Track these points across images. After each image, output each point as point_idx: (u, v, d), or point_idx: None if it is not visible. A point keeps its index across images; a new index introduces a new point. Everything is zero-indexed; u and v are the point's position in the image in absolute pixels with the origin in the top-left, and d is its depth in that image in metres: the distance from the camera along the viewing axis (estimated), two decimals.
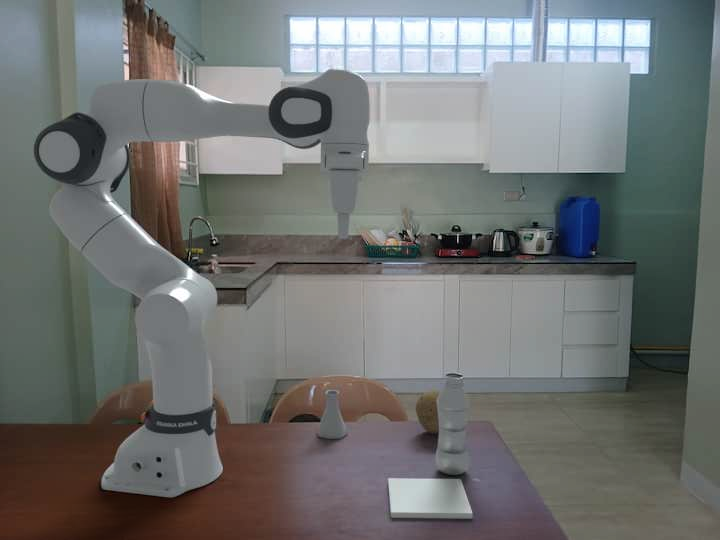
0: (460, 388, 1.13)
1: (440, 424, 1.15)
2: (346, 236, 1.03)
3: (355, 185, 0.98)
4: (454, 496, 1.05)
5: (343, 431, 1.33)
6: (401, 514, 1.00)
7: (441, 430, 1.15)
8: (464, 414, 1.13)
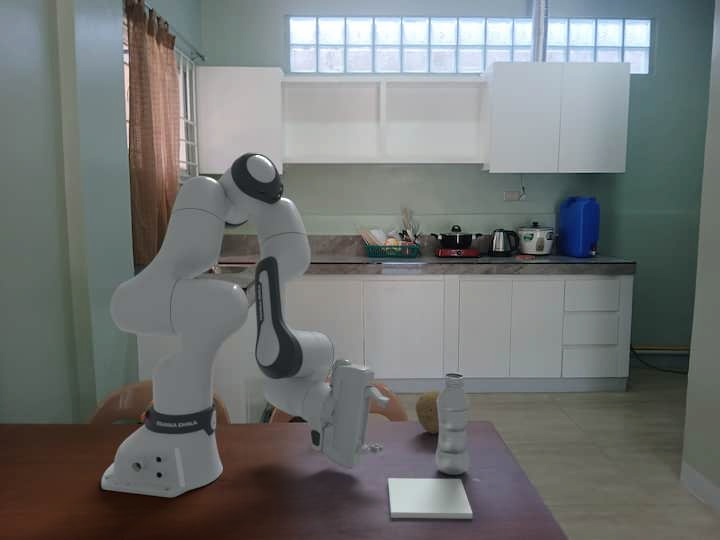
0: (460, 388, 1.13)
1: (440, 424, 1.15)
2: (376, 454, 1.10)
3: (333, 461, 1.15)
4: (454, 496, 1.05)
5: None
6: (401, 514, 1.00)
7: (441, 430, 1.15)
8: (464, 414, 1.13)
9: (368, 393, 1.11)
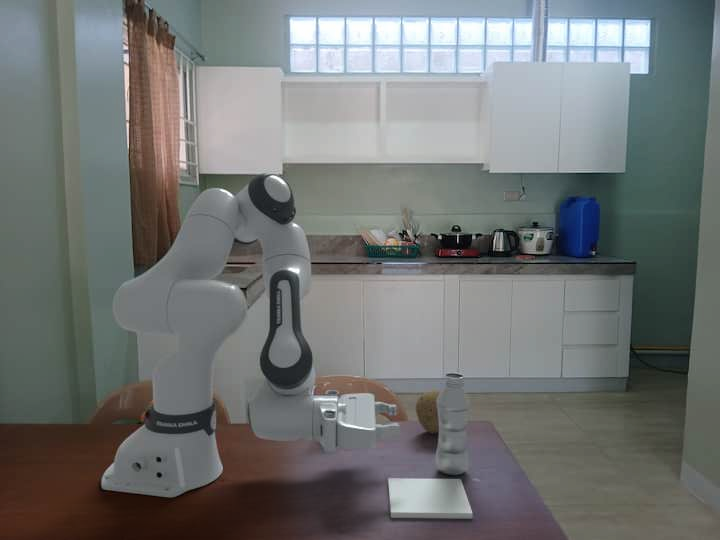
0: (460, 388, 1.13)
1: (440, 424, 1.15)
2: (398, 427, 1.10)
3: (351, 429, 1.06)
4: (454, 496, 1.05)
5: None
6: (401, 514, 1.00)
7: (441, 430, 1.15)
8: (464, 414, 1.13)
9: (378, 403, 1.21)
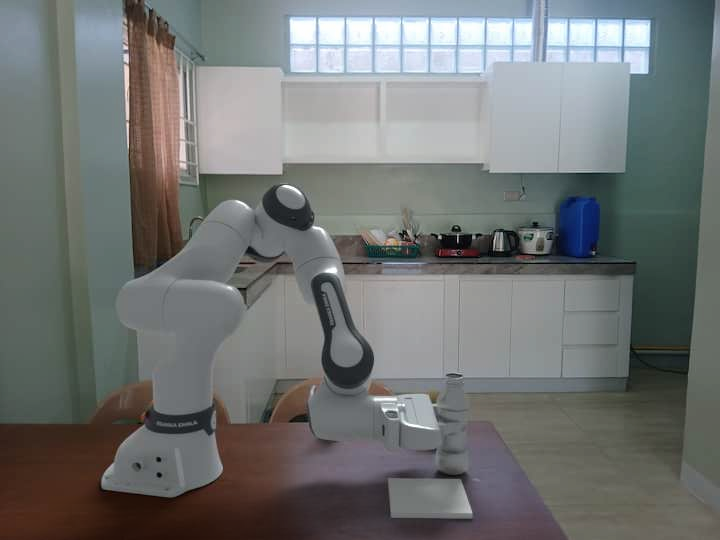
0: (460, 388, 1.13)
1: None
2: (459, 425, 1.11)
3: (415, 429, 1.06)
4: (454, 496, 1.05)
5: None
6: (401, 514, 1.00)
7: None
8: (464, 414, 1.13)
9: (435, 405, 1.20)
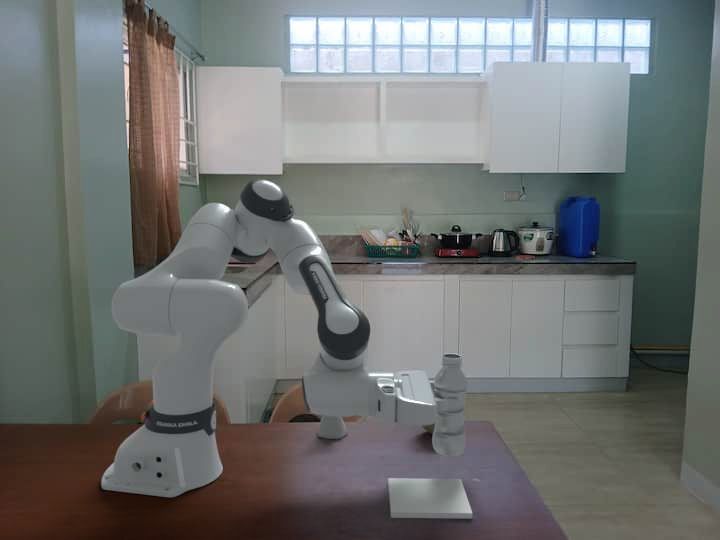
0: (458, 369, 1.11)
1: None
2: (456, 401, 1.09)
3: (411, 404, 1.04)
4: (454, 496, 1.05)
5: (343, 431, 1.33)
6: (401, 514, 1.00)
7: (438, 411, 1.13)
8: (461, 395, 1.11)
9: (433, 381, 1.18)
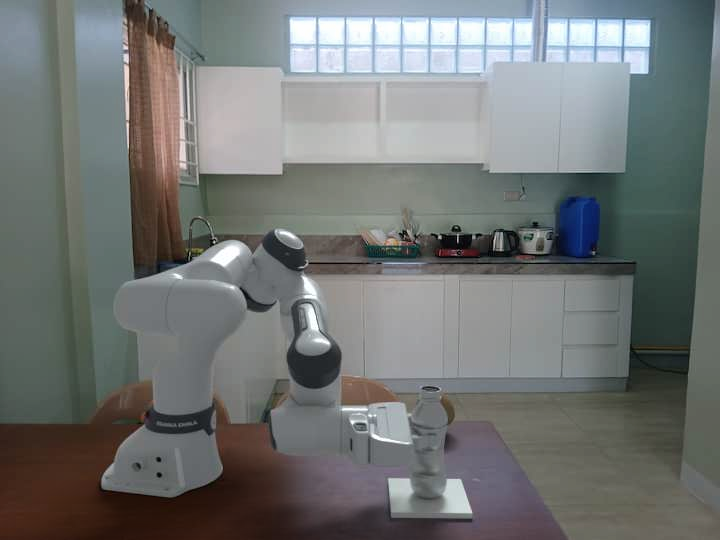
0: (436, 403, 1.03)
1: None
2: (435, 438, 1.00)
3: (385, 443, 0.95)
4: (454, 496, 1.05)
5: None
6: (401, 514, 1.00)
7: None
8: (441, 431, 1.02)
9: None
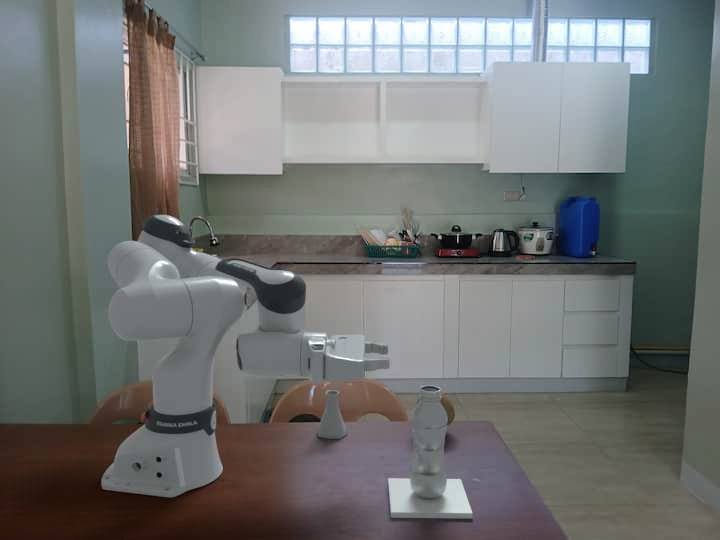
0: (436, 403, 1.03)
1: (415, 442, 1.04)
2: (387, 361, 1.08)
3: (338, 360, 1.04)
4: (454, 496, 1.05)
5: (343, 431, 1.33)
6: (401, 514, 1.00)
7: (416, 449, 1.04)
8: (441, 431, 1.02)
9: (369, 342, 1.19)
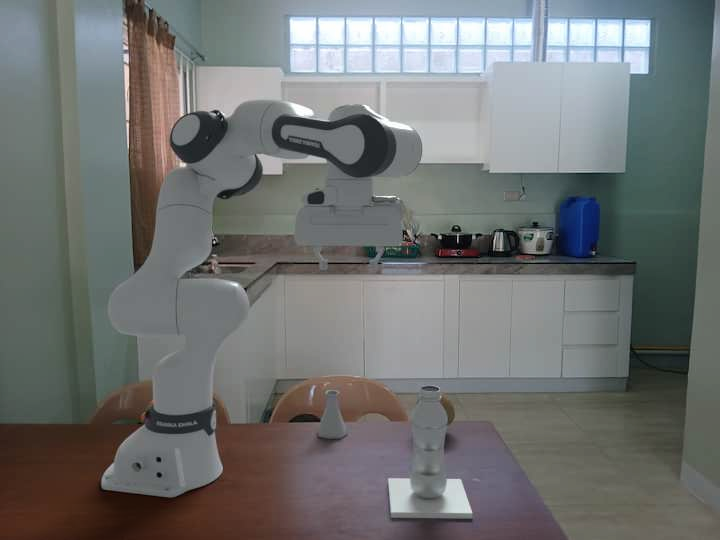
0: (436, 403, 1.03)
1: (415, 442, 1.04)
2: (319, 267, 1.09)
3: None
4: (454, 496, 1.05)
5: (343, 431, 1.33)
6: (401, 514, 1.00)
7: (416, 449, 1.04)
8: (441, 431, 1.02)
9: (379, 250, 1.08)
